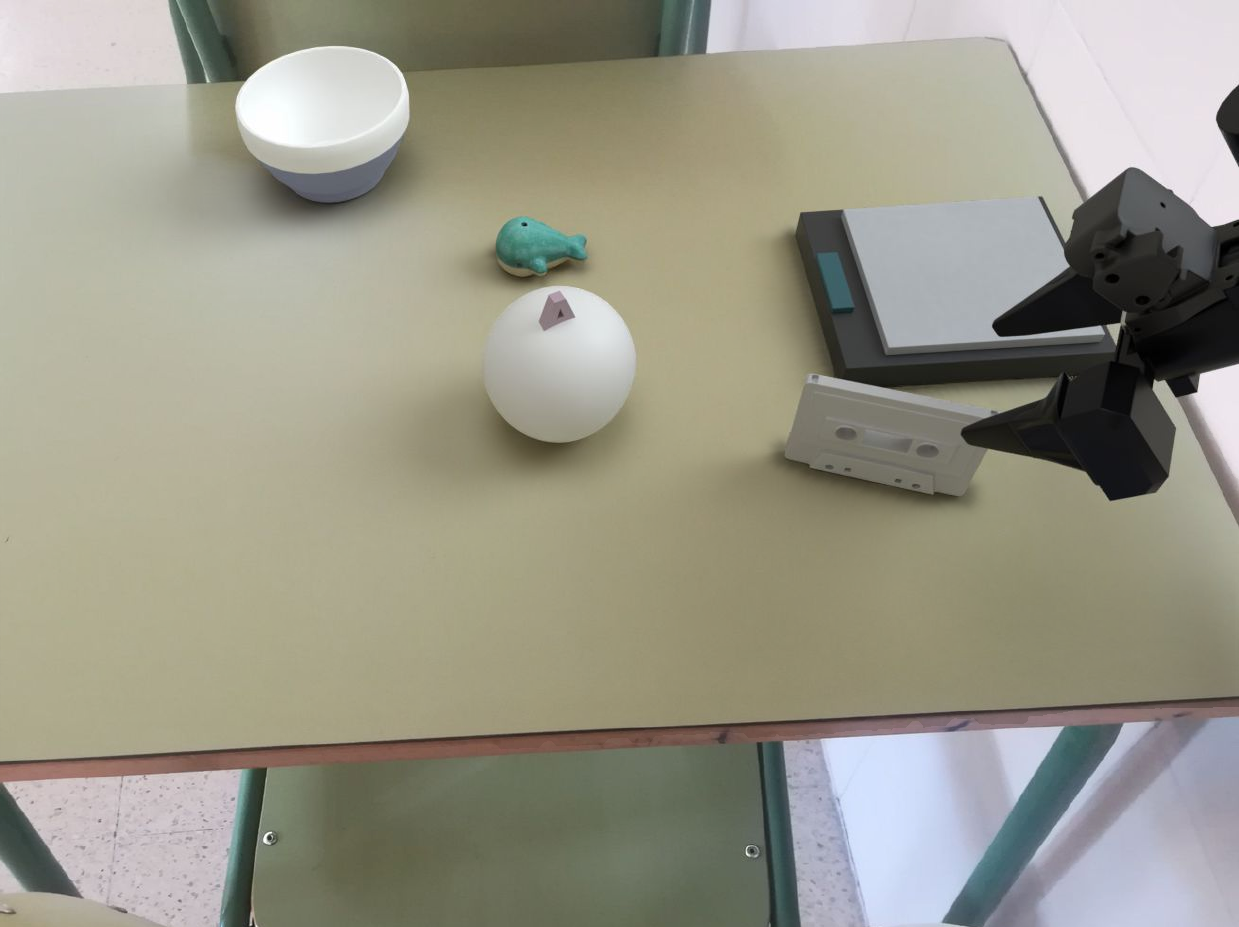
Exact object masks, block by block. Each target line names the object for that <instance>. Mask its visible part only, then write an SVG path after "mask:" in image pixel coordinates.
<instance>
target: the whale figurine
mask: <svg viewBox="0 0 1239 927" xmlns="http://www.w3.org/2000/svg"><path fill="white" fill-rule="evenodd" d="M587 242H588V240H587V238H586V236H585V235H583V234H574V235H571V236H567V235H566V234H564V233H562V232H561V231H559V230H557V229H555V228H553V227H552V226H549V225H547V224H546V223H545V222H544V221H538V220H536V219H534V218H533V217H530V216H524V215H523V216H517V217H514V218H511V219H510V220H508V221H507V222H506V223H505V224H503V226H502V227H501V228H500V229H499V231H498V233H497V236H496V240H495V257H496V260H497V262H498V264H499V265H500V267H501V268H502V270H504V271H505V272H507V273H509V274H511V275H513V276H517V277H522V278H523V277H528V276H532V275H535V276H537V277H543V276H546V274H547V272H548V270H550V269H552V268H554V267H557V266H559V265H561V264H563V263H565V262H567V261H572V262H574V263H581V264H582V263H585V262H586V261H587V260H588V255H587V253H586V251H585V248H586V245H587Z"/></svg>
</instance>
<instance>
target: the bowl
mask: <svg viewBox="0 0 1239 927" xmlns="http://www.w3.org/2000/svg"><path fill="white" fill-rule="evenodd" d="M234 104H235V105H234V110H235V117H236V122H237V127H238V131H239V133H240V136H241V139H242V141H243V143H244V145H245V146H246V148H247V151H249V153H250V154H251V155H252V156H253V157H254V158H255V159H256V160H257V162H258V163H259V164H260V165H262V167H263V168H264V169H266V170H267V171H269V173H270V174H271V175H272V176H273V177H274V178H275V179H276V180H277V181H279V182H281V183H282V184H283V185H285V186H287V187H289V188H290V189H291V190H292V191H293V192H294V193H296V194H297V195H298V196H300V197H301V198H303V199H306V200H309V201H312V202H317V203H327V204H328V203H329V204H331V203H341V202H346V201H350V200H353V199H355V198H359V197H361V196H363V195H365V194H367V193H368V192H369V191H371V190H372V189H374V188H375V187H376V186H378V184H379V183H380V181H381V180H382V178H383V176H384V174H385V172H386V170H387V169H388V168H389V166H390V165H391V163H392V162H393V160H394V158H395V157H396V155H397V152H398V149H399V146H400V145H401V143H402V142H403V139H404V136H405V133H406V129H407V128H408V124H409V122H410V94H409V89H408V85H407V82H406V80H405V76H404V74H403V72H402V71H401V69H399V67H398V66H397V65H396V64H394V63H393V62H392V61H391V60H390V59H388V58H387V57H385V56H383V55H381V54H378V53H377V52H374V51H371V50H367V49H364V48H359V47H352V46H346V45H345V46H341V45H328V46H326V45H325V46H317V47H311V48H305V49H299V50H297V51H294V52H291V53H288V54H284V55H282V56H279V57H278V58H276V59H273V60H271V61H269V62H268V63H266V64H264V65H263V66H261V67H260V68H258V69H257V70H256V71H255V72H253V73H252V74H251V75H250V76H249V77H248V78H247V79H246V81H245V82H244V83H243V84H242V86H241V87H240V89H239V91H238V93H237V95H236V98H235V103H234Z"/></svg>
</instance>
